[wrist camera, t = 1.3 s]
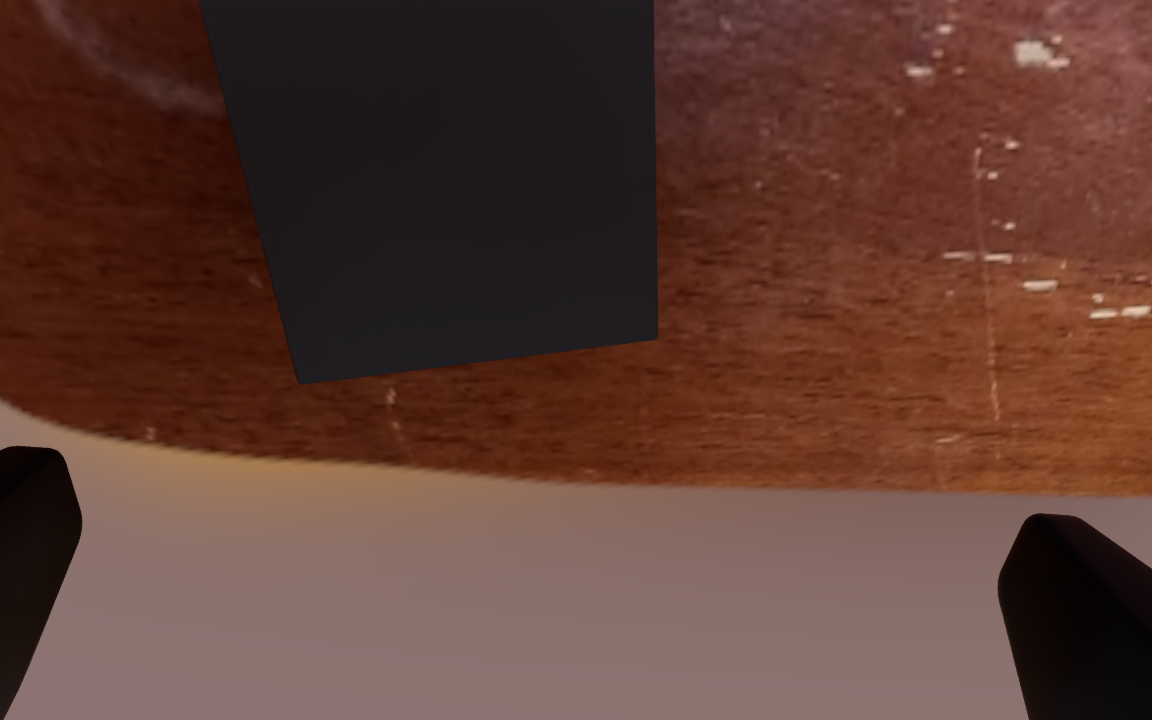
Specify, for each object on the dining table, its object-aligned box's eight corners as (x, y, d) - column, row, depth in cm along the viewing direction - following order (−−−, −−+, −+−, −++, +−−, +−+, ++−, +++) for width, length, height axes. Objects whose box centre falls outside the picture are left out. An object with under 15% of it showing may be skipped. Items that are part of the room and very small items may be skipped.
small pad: (314, 310, 19) (297, 387, 16) (232, -35, 15) (194, -7, 13) (627, 273, 19) (658, 341, 17) (616, -66, 16) (653, -46, 13)
